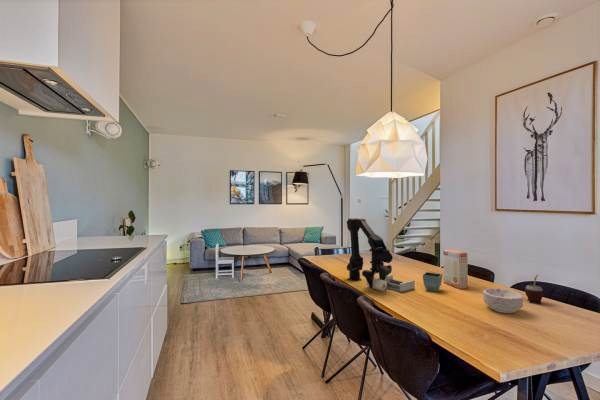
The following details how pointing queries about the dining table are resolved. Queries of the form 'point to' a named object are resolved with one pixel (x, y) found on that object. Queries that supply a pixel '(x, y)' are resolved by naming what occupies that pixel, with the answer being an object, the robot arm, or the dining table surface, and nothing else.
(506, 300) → the grey stone bowl
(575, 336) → the dining table surface
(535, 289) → the mate gourd
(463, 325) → the dining table surface
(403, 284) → the cradle
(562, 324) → the dining table surface
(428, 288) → the flower pot
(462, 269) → the cracker box
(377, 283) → the paper roll
